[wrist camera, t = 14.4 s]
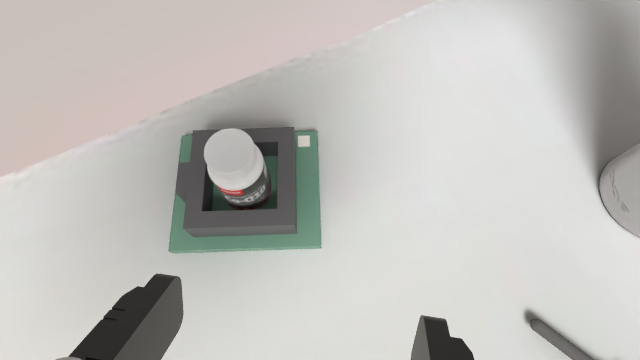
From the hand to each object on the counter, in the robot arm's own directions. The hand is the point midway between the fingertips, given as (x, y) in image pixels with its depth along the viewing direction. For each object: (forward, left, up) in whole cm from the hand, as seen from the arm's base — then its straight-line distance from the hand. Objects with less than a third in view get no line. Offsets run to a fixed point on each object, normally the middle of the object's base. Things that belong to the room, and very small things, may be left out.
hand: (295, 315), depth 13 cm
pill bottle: (+6, -13, -22) cm, 27 cm away
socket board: (+6, -13, -23) cm, 27 cm away
